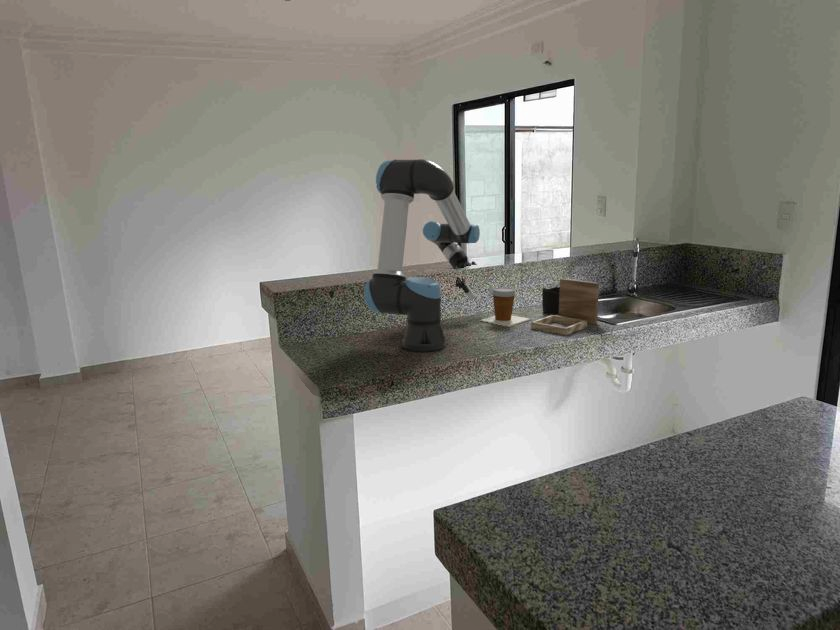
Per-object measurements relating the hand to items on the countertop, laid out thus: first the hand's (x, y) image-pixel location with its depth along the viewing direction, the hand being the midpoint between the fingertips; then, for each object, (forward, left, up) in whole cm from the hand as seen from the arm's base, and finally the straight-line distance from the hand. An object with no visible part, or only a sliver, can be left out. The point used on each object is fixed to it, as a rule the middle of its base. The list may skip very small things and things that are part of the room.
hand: (484, 295), depth 247 cm
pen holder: (+25, -18, -9) cm, 31 cm away
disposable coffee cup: (0, -10, -8) cm, 13 cm away
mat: (0, -11, -9) cm, 14 cm away
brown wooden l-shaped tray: (+8, -33, -9) cm, 35 cm away
